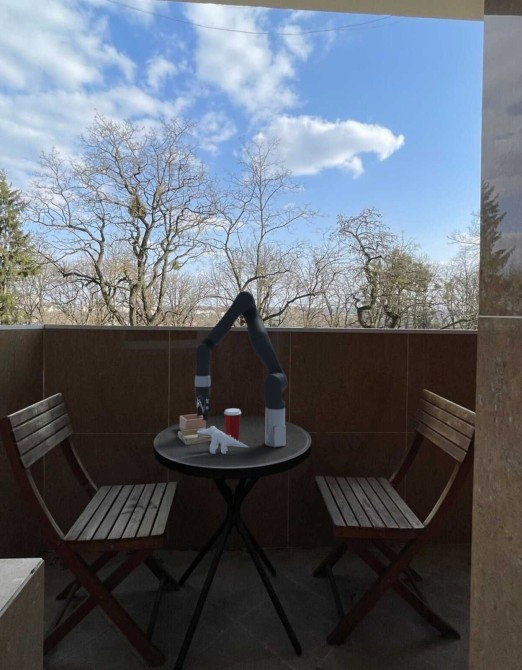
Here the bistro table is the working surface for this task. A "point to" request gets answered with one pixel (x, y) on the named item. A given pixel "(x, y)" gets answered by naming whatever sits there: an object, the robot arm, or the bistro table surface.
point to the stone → (200, 433)
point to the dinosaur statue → (220, 440)
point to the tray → (192, 437)
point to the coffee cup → (232, 422)
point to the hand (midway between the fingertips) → (202, 417)
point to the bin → (192, 422)
